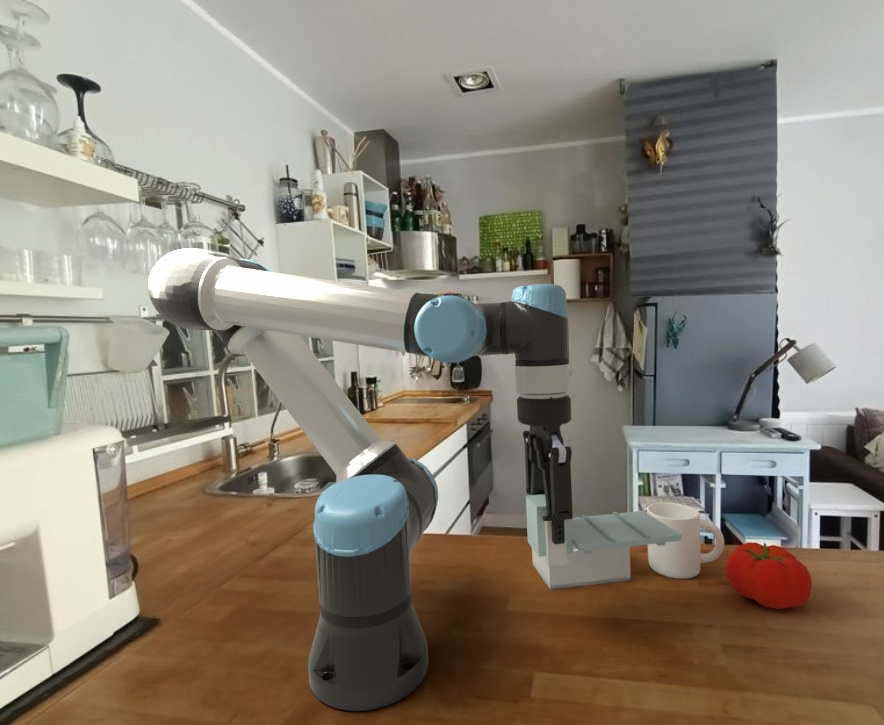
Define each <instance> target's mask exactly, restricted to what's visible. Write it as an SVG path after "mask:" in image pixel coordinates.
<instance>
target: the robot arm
mask: <svg viewBox="0 0 884 725" xmlns="http://www.w3.org/2000/svg"><path fill="white" fill-rule="evenodd" d="M147 290H148V296H149V300H150V301H151V304H152V306H153V308H154V309H155V310H156V312H157V313H158V314H159V316H161V317H162V318H163V319H164V320H165V321H167V322H169V323H171V324H172V325H175V326H177V327H180V328H183V329H188V330H197V331H199V330H200V331H213V332H214V333H215V334H216V335H217V337H218V339H220V341H221V342H222V343H223V345H224V346H225V347H226V348H227V349H228V351H229V352H230V353H232V354H235V355H241V356H242V355H243V356H245V357H246V359H248V361H249V362H250V364H251V365H252V366H253V367H254V369H255V370H256V371H257V373H258V374H259V375H260V377H261V378H262V379H263V380H264V382H265V383H266V384H267V386H268V387H269V388H270V390H271V391H272V392H273V393H274V395H275V396H276V397H277V399H278V400H279V401H280V403H281V405H282V406H284V408H285V409H286V410H287V412H288V413H289V414H290V416H291V417H292V418H293V419H294V421H295V423H296V424H297V425H298V427H299V428H300V429H301V430H302V431H303V433H304V434H305V435H306V437H307V438H308V439H309V441H310V442H311V443H312V445H313V446H314V448H315V449H316V450H317V451H318V453H319V454H320V455H321V456H322V458H323V459H324V461H325V462H326V463H327V465H328V466H329V467H330V468H331V470H332V471H333V472H334V474H335V476H336V479H335V483H333V484H332V485H330V486H329V487H327V488H326V489H325V490H324V491H323V492H322V493H321V494H320V495H319V496H318V498H317V500H316V501H315V502H316V503H315V505H314V522H313V523H312V524H313V525H312V526H313V536H314V541H315V556H316V558H315V559H316V573H317V574H316V575H317V588H318V589H317V590H318V602H319V619H318V622H317V626H316V629H315V633H314V637H313V641H312V645H311V649H310V652H309V656H308V660H307V661H308V663H307V664H308V665H307V668H308V683H309V687H310V690H311V691H312V694H313V695H314V696H315V697H316V698H317V699H318V700H319V701H320V702H322V703H323V704H326V705H327V706H329V707H332V708H334V709H338V710H343V711H344V710H345V711H351V712H353V711H354V712H357V711H358V712H360V711H361V712H362V711H370V710H376V709H381V708H384V707H386V706H389V705H392V704H394V703H396V702H398V701H400V700H402V699H403V698H405V697H407V696H408V695H410V694H411V693H412V692H414V691H415V689H417V688H418V686H419V685H420V684H421V683H422V682H423V680H424V679H425V677H426V675H427V672H428V669H429V646H428V641H427V638H426V635H425V632H424V629H423V628H422V624H421V622H420V620H419V617H418V615H417V612H416V609H415V606H414V604H413V597H412V594H413V593H412V575H411V574H412V573H411V554H412V552H413V550H414V549H415V547H416V545H418V542H419V541H420V539H421V537H422V536H423V534H424V532H425V531H426V530H427V529H428V528H429V526H430V525H431V523H432V522H433V520H434V517H435V514H436V511H437V507H438V502H439V488H438V485H437V482H436V479H435V477H434V475H433V473H432V472H431V471H430V470H429V468H428V467H427V466H426V465H425V464H424V463H422V462H420V461H418V460H417V459H413V458H411V457H410V458H409V457H407V456H406V454H404V451H403V450H402V449H401V448H400V447H399V445H398V444H397V443H396V442H395V441H390V440H389V441H388V440H383V439H381V438H380V437H379V436H378V434H377V433H376V431H375V430H374V429H373V428H372V427H371V426H370V424H369V422H368V421H367V419H365V418H364V416H363V415H362V414H361V412H360V411H359V410H358V409H357V407H356V406H355V405H354V403H353V402H352V401H351V399H350V398H349V397H348V396H347V395H346V392H344V390H342V388H341V387H340V385H339V384H338V383H337V382H336V380H335V379H334V378H333V376H332V375H331V373H330V372H328V369H326V367H325V366H324V365H323V364H322V362H321V361H320V359H319V358H318V357H317V356H316V355H315V352H313V351H312V349H311V348H310V347H309V346H308V344H307V343H306V342H305V340H304V339H303V338H302V337H308V338H313V339H321V340H325V341H333V342H337V343H338V342H339V343H344V344H350V345H357V346H363V347H364V346H365V347H369V348H375V349H380V350H381V349H382V350H388V351H394V352H399V353H400V352H401V353H407V354H412V355H416V356H423V357H426V358H427V357H428V358H431V359H433V360H435V361H438V362H441V363H450V364H457V363H462V362H465V361H467V360H468V359H470V358H472V357H476V356H477V357H479V356H481V357H482V356H494V355H495V356H496V355H514V357H515V361H514V363H515V365H514V371H515V372H514V373H515V377H514V378H515V392H516V393H518V394H519V395H520V396H518V397H517V399H516V410H517V411H516V412H517V421H518V422H519V423H520V424H523V425H525V426H529V429H528V430H523V432H522V437H523V443H524V444H523V445H524V460H525V461H524V462H525V463H524V464H525V466H524V468H525V493H526V494H527V496H529V495H540V494H545V500H546V508H547V516H542V518H543V521H545V537H546V563H547V565H548V566H554V565H563V564H567V546H566V520H568V519H572V518H574V517H573V516H574V515H573V495H572V493H573V492H572V488H573V487H572V471H571V470H572V469H571V468H572V467H571V462H572V454H573V451H572V447H571V446H570V445H569V446H565V445H564V439H563V436H562V432H561V426H562V425H563V424H564V425H566V424H568V423H570V422H571V420H572V402H571V400H572V399H571V397H570V396H569V395H568V394H566V393H569V392H570V390H571V382H570V380H571V379H570V377H571V376H572V375H573V371H572V369H570V351H569V350H570V349H569V348H570V346H569V315H568V314H569V313H568V304H567V303H568V302H567V295H566V290H565V289H564V288H563V286H561V285H559V284H555V283H539V284H537V283H536V284H529V285H521V286H517V287H514V289H513V290H512V293H511V294H512V295H511V300H508V301H502V302H489V303H488V302H487V303H474V302H473V301H471V300H469V299H468V298H467V297H463V296H459V295H454V294H453V295H452V294H445V295H440V294H439V295H437V294H431V293H421V292H416V291H411V290H405V289H404V290H403V289H396V288H389V287H384V286H383V287H382V286H376V285H375V286H374V285H368V284H360V283H352V282H345V281H340V280H339V281H338V280H331V279H325V278H319V277H311V276H305V275H304V276H302V275H295V274H290V273H289V274H288V273H281V272H277V271H276V272H275V271H273V270H271V269H270V268H268V267H267V266H266V265H263V264H261V263H259V262H256V261H254V260H250V259H246V258H237V257H232V256H229V255H225V254H221V253H217V252H214V251H209V250H206V249H201V248H193V247H192V248H191V247H190V248H188V247H187V248H180V249H176V250H173V251H171V252H168V253H167V254H165V255H164V256H162V257H161V258H160V259H159V260H158V261H157V262H156V263H155V265H154V266H152V268H151V271H150V273H149V276H148V281H147ZM301 336H302V337H301Z"/></svg>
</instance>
